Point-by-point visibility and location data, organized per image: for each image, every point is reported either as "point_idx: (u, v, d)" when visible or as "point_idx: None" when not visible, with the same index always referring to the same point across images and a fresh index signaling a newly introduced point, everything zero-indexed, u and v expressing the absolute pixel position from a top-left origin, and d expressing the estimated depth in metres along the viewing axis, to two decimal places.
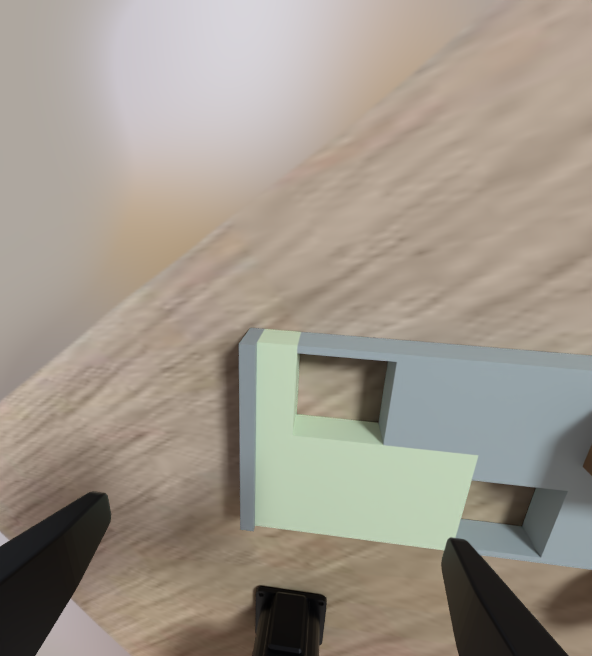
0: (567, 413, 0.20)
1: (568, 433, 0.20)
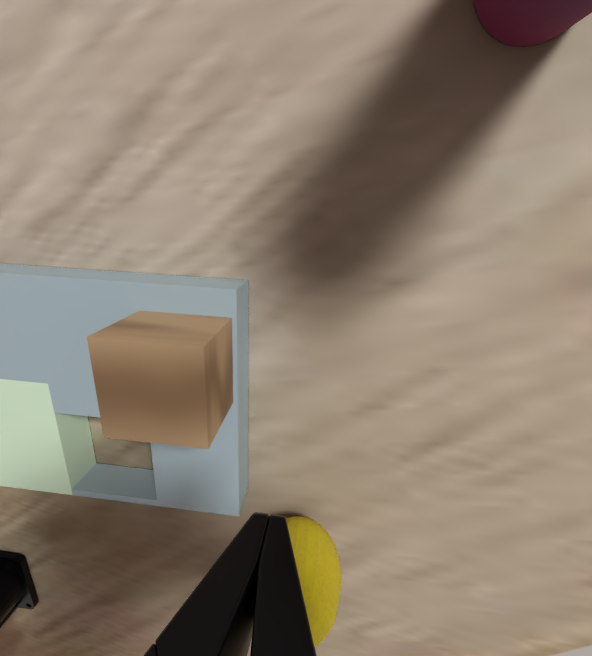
0: None
1: None
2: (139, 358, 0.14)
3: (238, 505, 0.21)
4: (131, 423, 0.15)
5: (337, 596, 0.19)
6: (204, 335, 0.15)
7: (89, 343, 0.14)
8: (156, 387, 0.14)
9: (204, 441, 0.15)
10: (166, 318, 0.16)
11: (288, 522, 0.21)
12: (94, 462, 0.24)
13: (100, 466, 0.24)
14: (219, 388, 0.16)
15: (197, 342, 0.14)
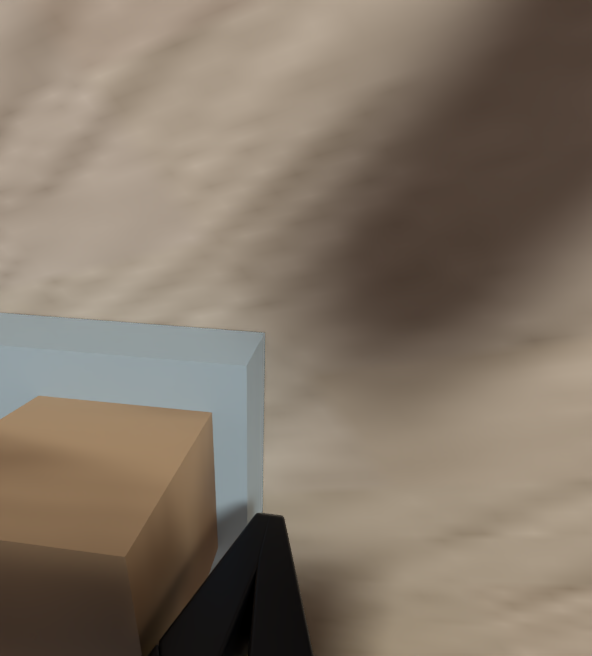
0: None
1: None
2: None
3: None
4: None
5: None
6: (142, 493, 0.06)
7: None
8: (25, 624, 0.06)
9: None
10: (79, 423, 0.08)
11: None
12: None
13: None
14: (183, 572, 0.08)
15: (115, 531, 0.06)
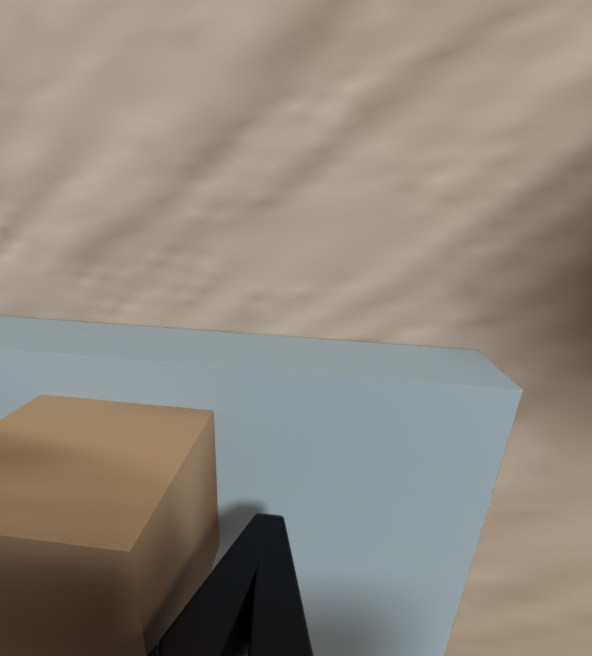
0: (231, 458, 0.09)
1: (247, 496, 0.10)
2: None
3: None
4: None
5: None
6: (144, 489, 0.06)
7: None
8: (29, 620, 0.06)
9: None
10: (82, 421, 0.08)
11: None
12: None
13: None
14: (186, 569, 0.08)
15: (119, 527, 0.06)
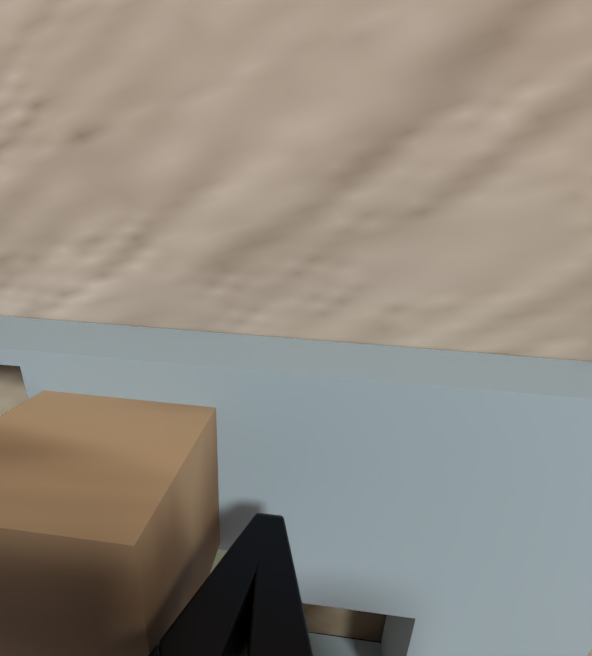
0: (385, 475, 0.09)
1: (395, 514, 0.10)
2: None
3: None
4: None
5: None
6: (148, 484, 0.06)
7: None
8: (32, 613, 0.06)
9: None
10: (84, 417, 0.08)
11: None
12: None
13: None
14: (188, 565, 0.08)
15: (123, 522, 0.06)
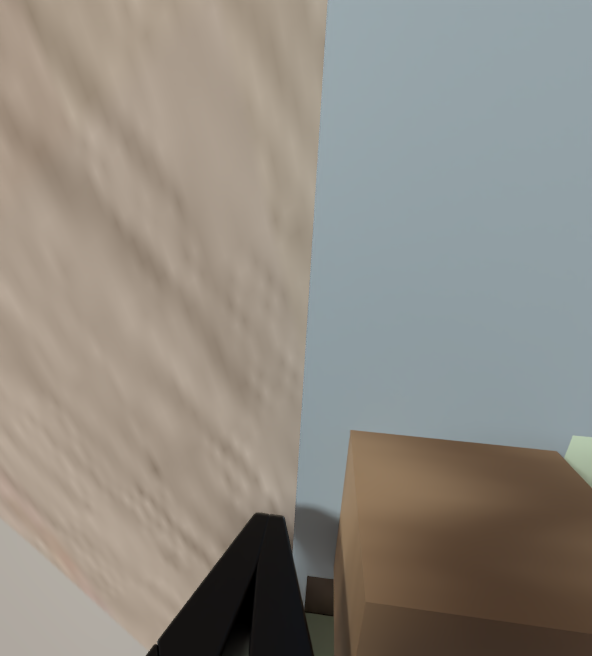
0: (453, 242, 0.07)
1: (528, 221, 0.07)
2: None
3: None
4: None
5: None
6: (356, 543, 0.06)
7: None
8: None
9: None
10: (340, 551, 0.09)
11: None
12: None
13: None
14: (512, 520, 0.06)
15: (360, 593, 0.05)
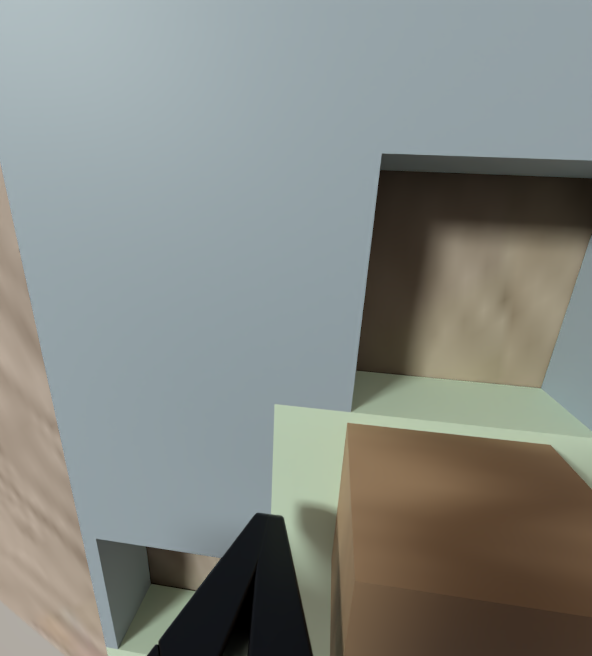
0: (126, 227, 0.08)
1: (180, 209, 0.07)
2: None
3: None
4: None
5: None
6: (349, 529, 0.06)
7: None
8: None
9: None
10: (337, 542, 0.09)
11: None
12: (538, 390, 0.10)
13: (552, 376, 0.10)
14: (502, 508, 0.06)
15: (351, 574, 0.05)
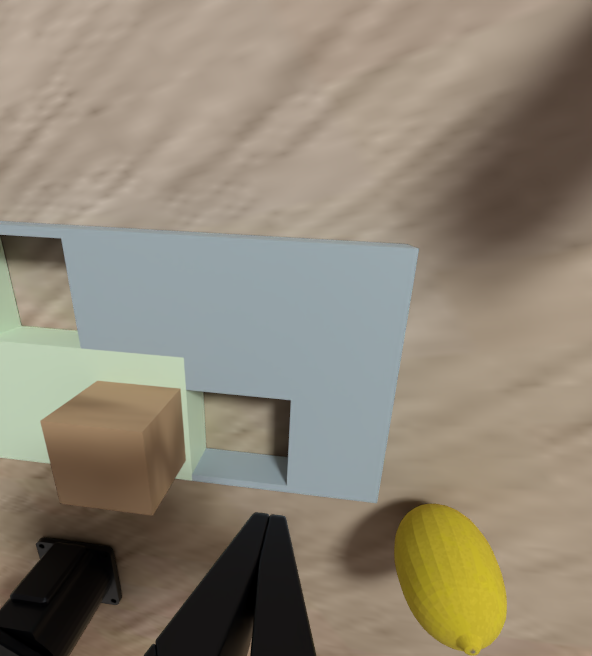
0: (261, 299, 0.17)
1: (270, 325, 0.17)
2: (87, 439, 0.16)
3: (378, 491, 0.20)
4: (83, 492, 0.17)
5: (504, 588, 0.17)
6: (147, 416, 0.16)
7: (42, 426, 0.16)
8: (103, 463, 0.16)
9: (149, 509, 0.17)
10: (119, 392, 0.18)
11: (430, 509, 0.20)
12: (205, 447, 0.23)
13: (212, 451, 0.23)
14: (165, 457, 0.18)
15: (138, 426, 0.15)
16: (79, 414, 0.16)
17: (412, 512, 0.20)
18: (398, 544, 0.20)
